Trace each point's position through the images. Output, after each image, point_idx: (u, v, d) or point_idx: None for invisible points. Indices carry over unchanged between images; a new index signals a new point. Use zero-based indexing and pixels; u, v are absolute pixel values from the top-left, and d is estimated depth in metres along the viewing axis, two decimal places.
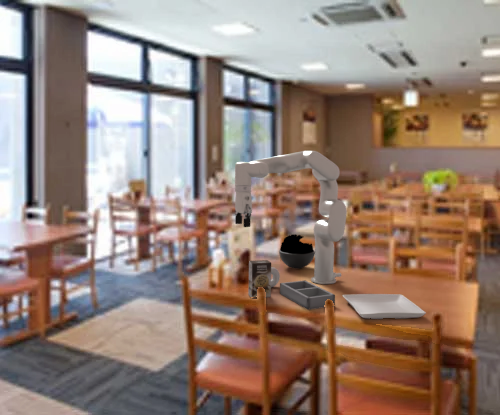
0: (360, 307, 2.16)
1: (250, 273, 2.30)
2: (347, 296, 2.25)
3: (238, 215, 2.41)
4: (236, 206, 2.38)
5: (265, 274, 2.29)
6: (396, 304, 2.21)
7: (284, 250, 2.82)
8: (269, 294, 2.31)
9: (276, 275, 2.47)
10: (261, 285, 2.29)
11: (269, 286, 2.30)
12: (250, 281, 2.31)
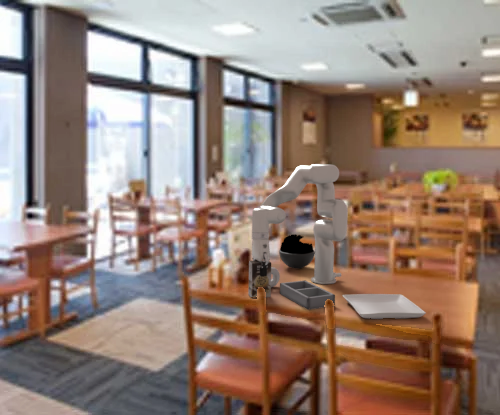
0: (360, 307, 2.16)
1: (250, 273, 2.30)
2: (347, 296, 2.25)
3: None
4: (253, 253, 2.32)
5: None
6: (396, 304, 2.21)
7: (284, 250, 2.82)
8: (269, 294, 2.31)
9: (276, 275, 2.47)
10: (261, 285, 2.29)
11: (269, 286, 2.30)
12: (250, 281, 2.31)
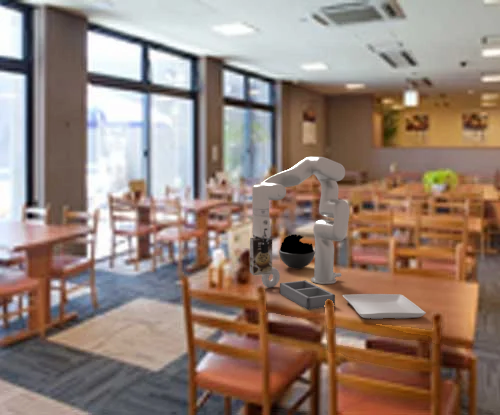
0: (360, 307, 2.16)
1: (252, 251, 2.29)
2: (347, 296, 2.25)
3: None
4: (254, 230, 2.31)
5: None
6: (396, 304, 2.21)
7: (284, 250, 2.82)
8: (270, 271, 2.30)
9: (276, 275, 2.47)
10: (262, 262, 2.28)
11: (270, 263, 2.30)
12: (251, 258, 2.30)
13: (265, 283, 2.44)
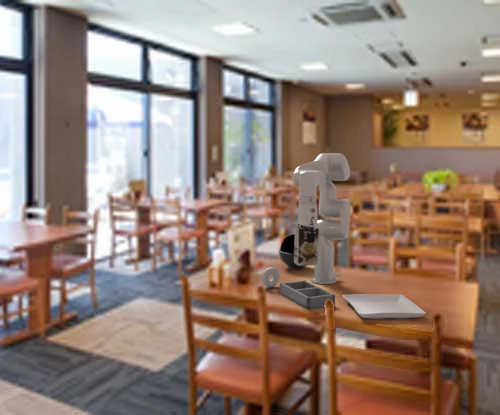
0: (360, 307, 2.16)
1: (297, 240, 2.19)
2: (347, 296, 2.25)
3: None
4: (299, 218, 2.21)
5: None
6: (396, 304, 2.21)
7: (284, 250, 2.82)
8: (316, 262, 2.20)
9: (276, 275, 2.47)
10: (308, 252, 2.18)
11: (316, 253, 2.19)
12: (296, 248, 2.20)
13: (265, 283, 2.44)
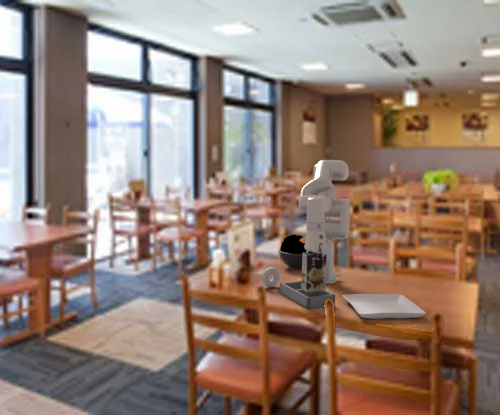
0: (360, 307, 2.16)
1: (305, 266, 2.18)
2: (347, 296, 2.25)
3: None
4: (307, 244, 2.21)
5: None
6: (396, 304, 2.21)
7: (284, 250, 2.82)
8: (324, 288, 2.19)
9: (276, 275, 2.47)
10: (316, 278, 2.18)
11: (324, 279, 2.19)
12: (304, 274, 2.19)
13: (265, 283, 2.44)
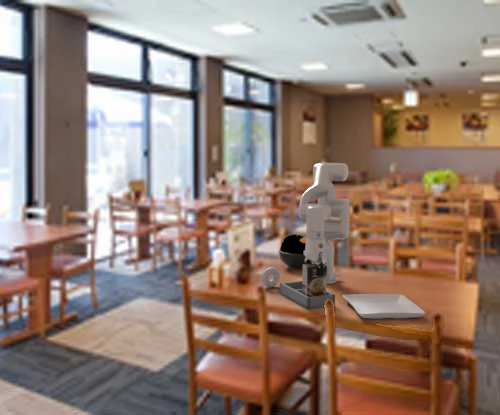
0: (360, 307, 2.16)
1: (305, 277, 2.19)
2: (347, 296, 2.25)
3: (308, 262, 2.24)
4: (307, 253, 2.21)
5: (320, 277, 2.18)
6: (397, 304, 2.21)
7: (284, 250, 2.82)
8: None
9: (276, 275, 2.47)
10: (316, 289, 2.18)
11: (324, 290, 2.20)
12: (304, 285, 2.20)
13: (265, 283, 2.44)
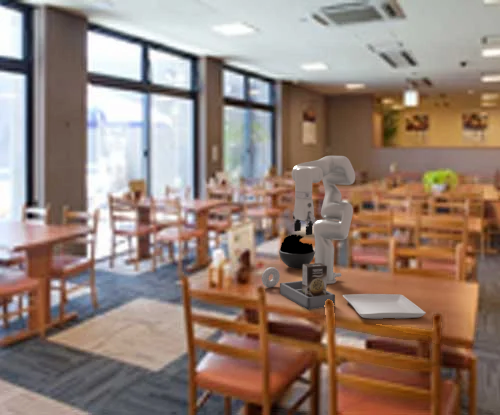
0: (360, 307, 2.16)
1: (305, 277, 2.19)
2: (347, 296, 2.25)
3: (297, 222, 2.33)
4: (296, 213, 2.30)
5: (320, 277, 2.18)
6: (397, 304, 2.21)
7: (284, 250, 2.82)
8: None
9: (276, 275, 2.47)
10: (316, 289, 2.18)
11: (324, 290, 2.20)
12: (304, 285, 2.20)
13: (265, 283, 2.44)
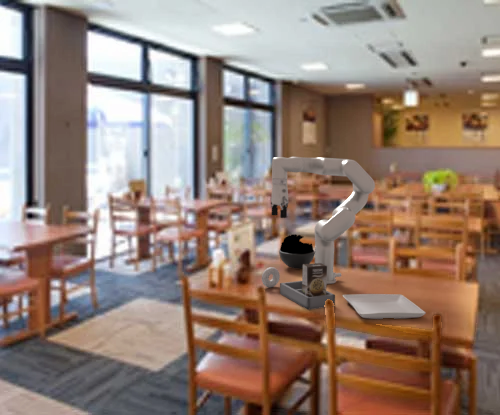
0: (360, 307, 2.16)
1: (305, 277, 2.19)
2: (347, 296, 2.25)
3: (274, 207, 2.57)
4: (273, 198, 2.54)
5: (320, 277, 2.18)
6: (397, 304, 2.21)
7: (284, 250, 2.82)
8: None
9: (276, 275, 2.47)
10: (316, 289, 2.18)
11: (324, 290, 2.20)
12: (304, 285, 2.20)
13: (265, 283, 2.44)
